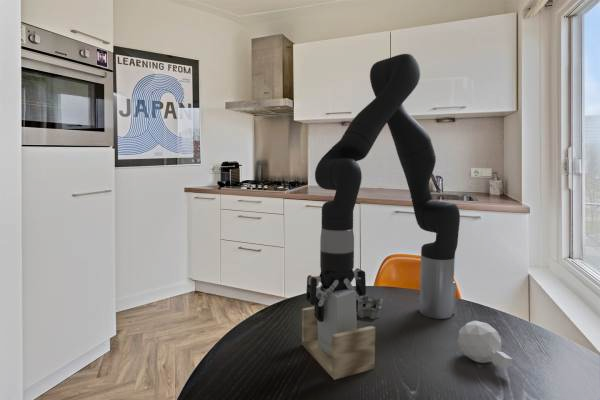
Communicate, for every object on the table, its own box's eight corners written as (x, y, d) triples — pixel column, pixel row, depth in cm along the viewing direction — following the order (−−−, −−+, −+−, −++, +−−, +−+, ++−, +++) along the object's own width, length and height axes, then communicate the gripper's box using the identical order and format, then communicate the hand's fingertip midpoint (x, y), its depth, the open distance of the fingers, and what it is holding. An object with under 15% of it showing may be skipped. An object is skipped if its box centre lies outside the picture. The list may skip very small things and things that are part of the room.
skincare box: (358, 355, 83) (359, 291, 82) (336, 363, 80) (337, 296, 78) (335, 340, 90) (336, 281, 89) (315, 346, 87) (315, 285, 86)
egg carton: (360, 304, 117) (360, 292, 116) (384, 307, 114) (384, 295, 114) (353, 317, 107) (353, 303, 107) (379, 320, 104) (379, 307, 104)
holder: (337, 336, 95) (337, 302, 94) (374, 368, 80) (375, 328, 79) (302, 344, 90) (302, 308, 90) (334, 379, 76) (334, 337, 75)
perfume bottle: (443, 345, 86) (483, 379, 75) (458, 310, 85) (501, 339, 74) (469, 349, 90) (512, 383, 79) (484, 315, 89) (529, 344, 78)
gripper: (354, 241, 89) (354, 306, 91) (301, 247, 83) (301, 316, 85) (373, 248, 82) (371, 318, 84) (316, 255, 76) (316, 330, 78)
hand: (336, 317), depth 84 cm, fingers open, 8 cm apart
